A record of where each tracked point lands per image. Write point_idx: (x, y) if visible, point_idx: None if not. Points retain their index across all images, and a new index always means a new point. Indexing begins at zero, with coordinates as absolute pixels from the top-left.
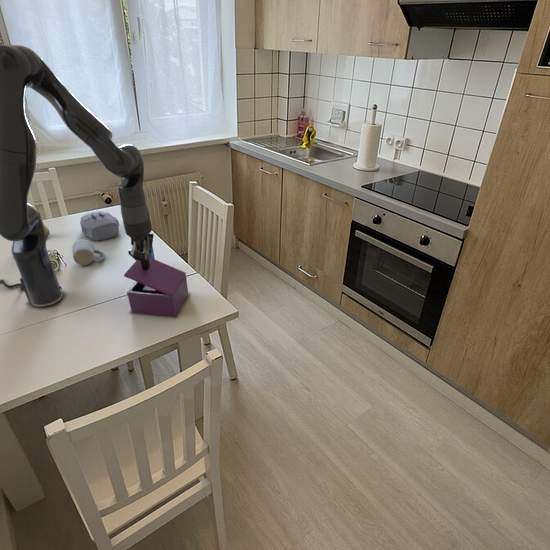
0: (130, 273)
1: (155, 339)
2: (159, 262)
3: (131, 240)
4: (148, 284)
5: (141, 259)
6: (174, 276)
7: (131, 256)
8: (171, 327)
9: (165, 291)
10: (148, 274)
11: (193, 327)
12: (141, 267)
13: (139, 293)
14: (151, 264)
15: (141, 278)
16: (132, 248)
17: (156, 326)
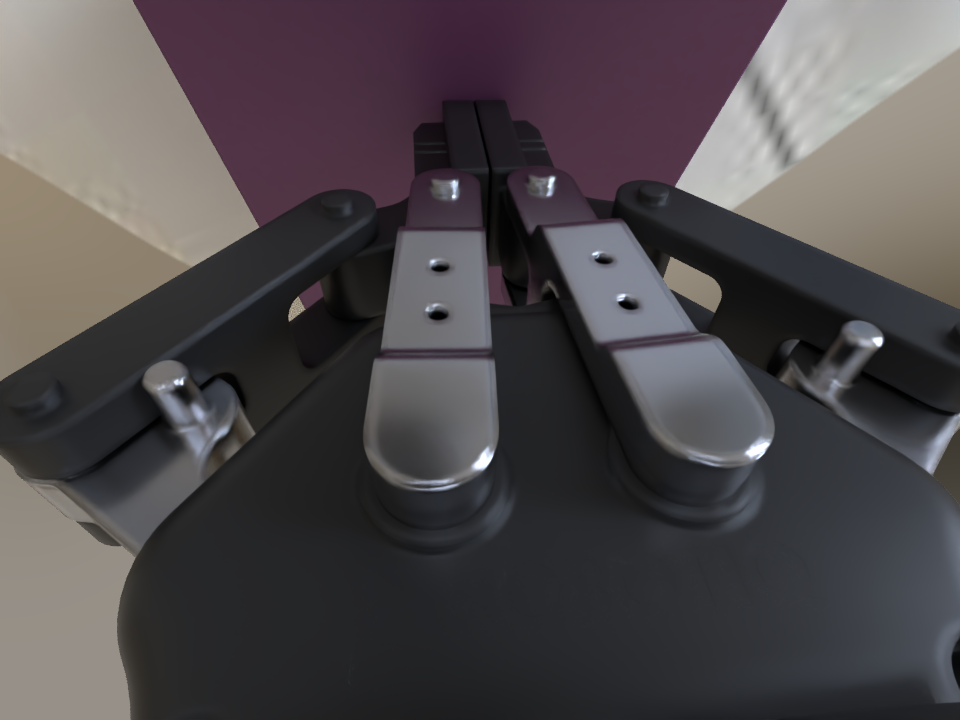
0: (222, 24)
1: (103, 192)
2: (660, 181)
3: (130, 703)
4: (259, 225)
5: (297, 334)
6: None
7: (153, 291)
8: (241, 232)
9: (307, 306)
10: (394, 180)
11: (290, 320)
12: (462, 83)
13: None
14: (588, 141)
15: (272, 159)
16: (98, 518)
17: (205, 149)
